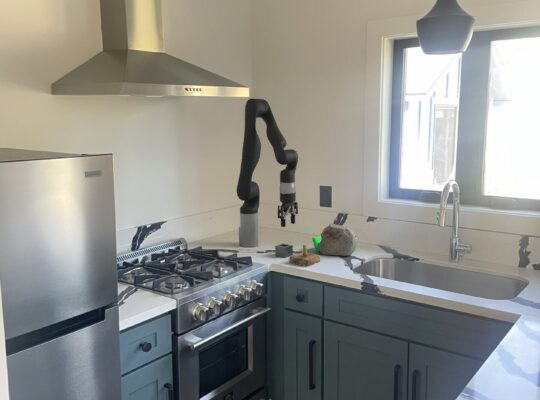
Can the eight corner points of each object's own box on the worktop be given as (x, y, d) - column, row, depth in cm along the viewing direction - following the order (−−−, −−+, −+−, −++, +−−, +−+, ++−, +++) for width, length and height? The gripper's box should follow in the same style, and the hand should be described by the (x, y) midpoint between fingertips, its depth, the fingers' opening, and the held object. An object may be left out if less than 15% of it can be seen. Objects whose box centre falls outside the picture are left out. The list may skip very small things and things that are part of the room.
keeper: (289, 263, 249) (289, 245, 248) (302, 258, 257) (302, 241, 256) (307, 266, 243) (307, 249, 242) (320, 261, 251) (320, 244, 250)
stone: (357, 254, 263) (358, 224, 261) (354, 258, 257) (355, 226, 254) (320, 251, 270) (320, 221, 268) (316, 254, 263) (316, 224, 261)
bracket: (342, 252, 284) (338, 238, 286) (351, 246, 276) (347, 232, 278) (309, 256, 275) (305, 243, 278) (318, 250, 267) (314, 236, 269)
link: (275, 255, 262) (275, 245, 261) (282, 253, 267) (282, 243, 266) (285, 257, 258) (285, 247, 258) (292, 255, 263) (292, 245, 262)
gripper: (289, 189, 267) (289, 222, 269) (272, 193, 255) (273, 227, 258) (302, 190, 262) (302, 223, 265) (286, 194, 251) (286, 228, 253)
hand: (288, 225), depth 261 cm, fingers open, 8 cm apart
